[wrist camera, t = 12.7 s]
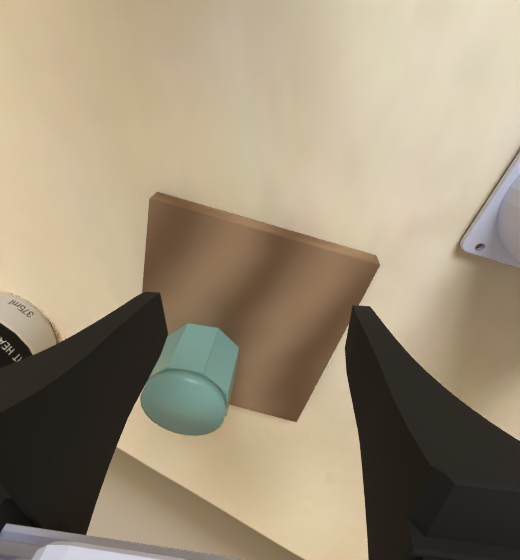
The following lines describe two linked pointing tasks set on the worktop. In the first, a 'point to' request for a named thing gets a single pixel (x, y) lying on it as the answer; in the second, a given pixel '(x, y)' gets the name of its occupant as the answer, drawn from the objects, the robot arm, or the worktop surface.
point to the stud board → (255, 295)
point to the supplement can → (22, 330)
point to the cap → (192, 381)
